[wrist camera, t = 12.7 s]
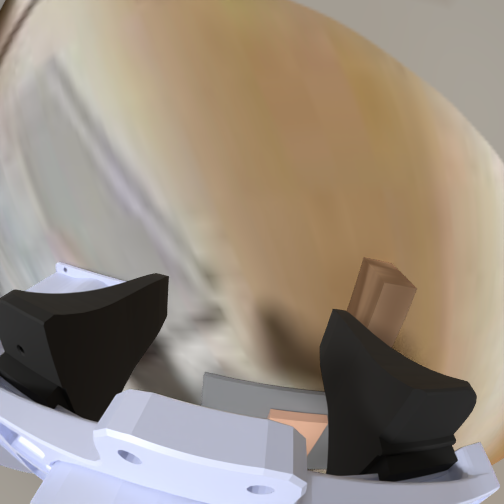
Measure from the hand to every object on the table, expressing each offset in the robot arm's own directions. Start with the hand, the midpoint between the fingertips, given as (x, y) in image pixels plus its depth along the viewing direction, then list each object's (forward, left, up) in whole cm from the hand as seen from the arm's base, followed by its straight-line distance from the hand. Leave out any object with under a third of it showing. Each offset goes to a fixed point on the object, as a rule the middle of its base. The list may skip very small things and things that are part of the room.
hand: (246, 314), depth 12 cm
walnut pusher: (+9, -4, -10) cm, 14 cm away
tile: (+7, -16, -8) cm, 19 cm away
